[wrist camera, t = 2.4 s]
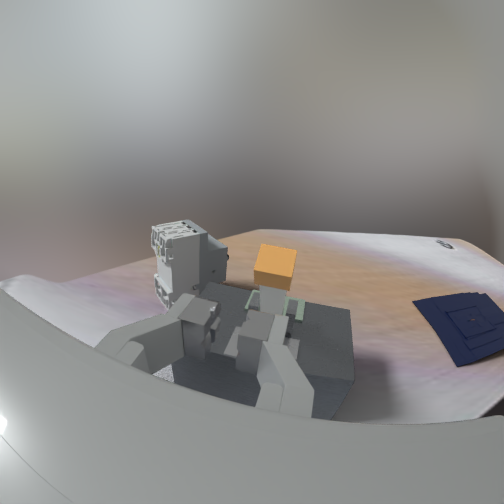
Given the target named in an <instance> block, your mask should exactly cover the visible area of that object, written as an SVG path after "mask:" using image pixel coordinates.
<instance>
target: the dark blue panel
mask: <svg viewBox="0 0 504 504" xmlns="http://www.w3.org/2000/svg"><path fill="white" fill-rule="evenodd" d="M412 302H413V303H414V304H415V306H416V307H417V308H418V309H419V310H420V312H421V313H422V314H423V316H424V317H425V318H426V319H427V321H428V322H429V323H430V325H431V326H432V327H433V328H434V330H435V331H436V333H437V334H438V336H439V338H440V339H441V341H442V342H443V344H444V346H445V347H446V349H447V350H448V352H449V354H450V356H451V357H452V359H453V361H454V362H455V364H456V366H457V367H458V366H461V365H465V364H469V363H472V362H474V361H477V360H479V359H481V358H483V357H486V356H488V355H491V354H493V353H495V352H497V351H500V350H502V349H504V312H503V311H502V310H501V309H500V308H499V307H498V306H497V305H496V304H495V303H494V301H493V300H492V299H491V298H490V297H489V296H488V295H487V294H486V293H485V294H479V293H478V292H476V293H470V292H469V293H459V294H453V295H446V296H439V297H431V298H427V299H421V300H417V301H412Z"/></svg>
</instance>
